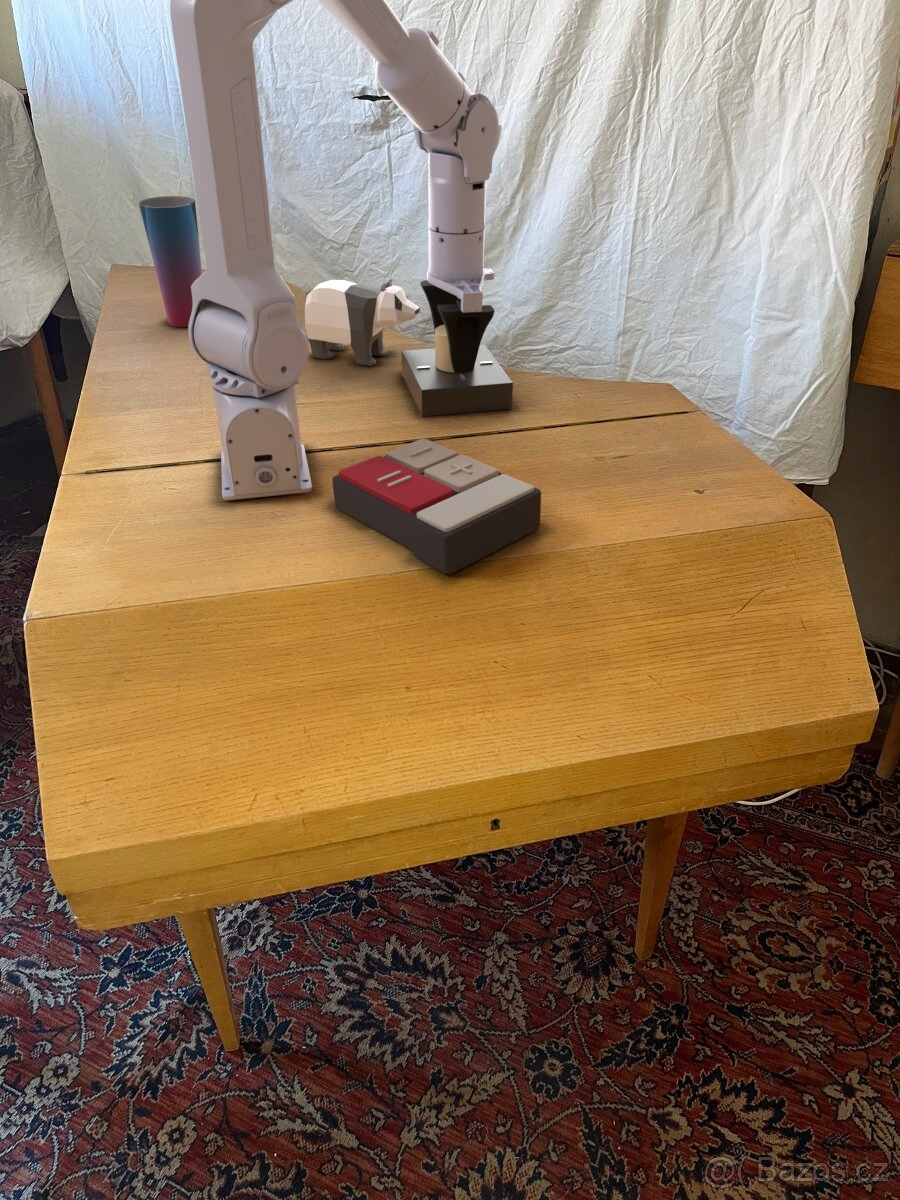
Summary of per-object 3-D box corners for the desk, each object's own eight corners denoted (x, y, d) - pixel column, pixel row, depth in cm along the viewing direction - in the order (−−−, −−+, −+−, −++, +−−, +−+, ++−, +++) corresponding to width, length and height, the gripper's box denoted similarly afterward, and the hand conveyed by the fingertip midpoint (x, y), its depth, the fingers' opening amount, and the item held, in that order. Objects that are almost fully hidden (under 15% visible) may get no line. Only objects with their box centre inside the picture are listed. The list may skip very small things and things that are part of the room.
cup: (160, 315, 118) (138, 197, 109) (211, 311, 120) (193, 194, 111) (162, 331, 113) (139, 208, 104) (215, 327, 114) (197, 205, 106)
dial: (440, 374, 93) (440, 335, 91) (431, 359, 97) (431, 321, 94) (479, 371, 94) (480, 332, 92) (469, 357, 98) (470, 319, 95)
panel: (511, 409, 94) (513, 381, 92) (421, 416, 92) (421, 388, 90) (484, 369, 103) (484, 343, 101) (402, 375, 101) (401, 349, 99)
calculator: (424, 432, 80) (544, 481, 71) (426, 474, 82) (542, 527, 73) (328, 469, 74) (446, 528, 65) (333, 513, 76) (447, 576, 67)
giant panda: (301, 357, 106) (293, 277, 100) (322, 342, 110) (315, 265, 104) (411, 373, 102) (409, 291, 96) (428, 357, 106) (427, 278, 100)
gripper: (514, 243, 82) (507, 379, 90) (477, 210, 93) (474, 334, 101) (442, 247, 81) (442, 384, 89) (413, 213, 92) (415, 338, 100)
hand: (454, 358), depth 95 cm, fingers open, 7 cm apart
